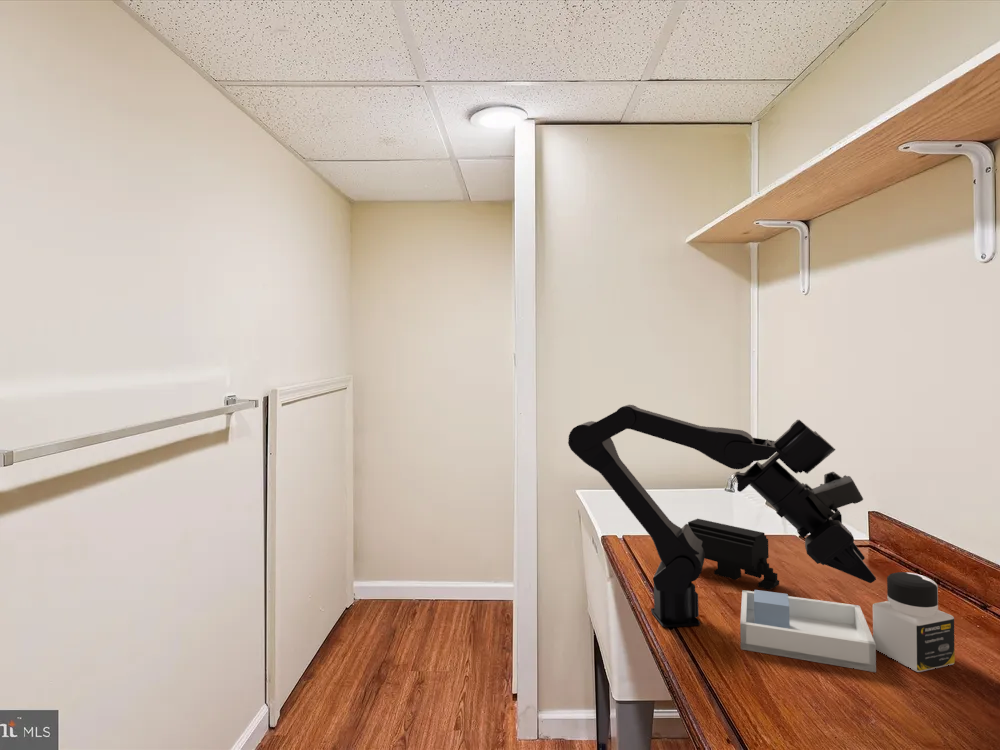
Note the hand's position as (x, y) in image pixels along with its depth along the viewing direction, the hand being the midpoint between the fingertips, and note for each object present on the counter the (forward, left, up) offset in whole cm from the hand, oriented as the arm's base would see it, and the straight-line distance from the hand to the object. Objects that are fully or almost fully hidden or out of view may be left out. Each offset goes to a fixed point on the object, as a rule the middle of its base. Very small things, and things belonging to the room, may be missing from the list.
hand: (867, 569), depth 85 cm
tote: (-8, +4, -12) cm, 15 cm away
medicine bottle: (+5, -3, -12) cm, 14 cm away
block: (-12, +6, -11) cm, 17 cm away
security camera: (-6, +30, -12) cm, 34 cm away
